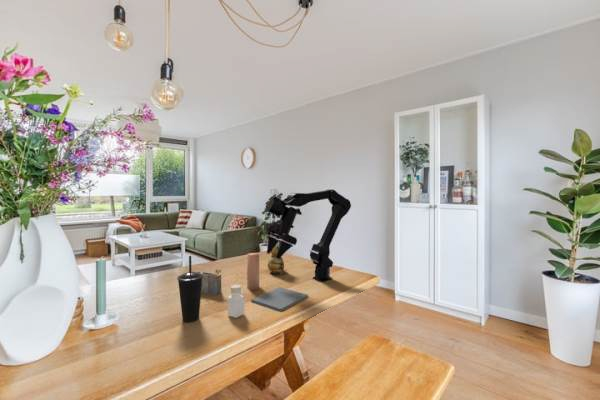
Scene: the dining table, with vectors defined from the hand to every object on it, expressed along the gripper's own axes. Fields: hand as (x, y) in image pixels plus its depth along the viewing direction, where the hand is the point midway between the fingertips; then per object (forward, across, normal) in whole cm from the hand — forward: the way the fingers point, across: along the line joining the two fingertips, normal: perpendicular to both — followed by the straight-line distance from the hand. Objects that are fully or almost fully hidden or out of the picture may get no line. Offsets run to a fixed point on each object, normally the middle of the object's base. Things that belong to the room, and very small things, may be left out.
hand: (272, 255), depth 116 cm
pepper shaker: (+21, +17, -13) cm, 30 cm away
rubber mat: (+13, +12, +4) cm, 18 cm away
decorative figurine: (+8, -20, +16) cm, 26 cm away
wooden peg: (+15, -5, 0) cm, 16 cm away
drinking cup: (+27, +12, -25) cm, 38 cm away
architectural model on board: (+23, -9, -16) cm, 29 cm away
